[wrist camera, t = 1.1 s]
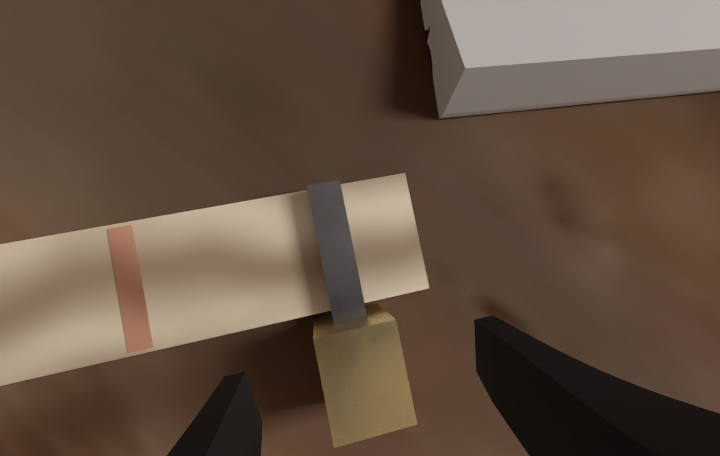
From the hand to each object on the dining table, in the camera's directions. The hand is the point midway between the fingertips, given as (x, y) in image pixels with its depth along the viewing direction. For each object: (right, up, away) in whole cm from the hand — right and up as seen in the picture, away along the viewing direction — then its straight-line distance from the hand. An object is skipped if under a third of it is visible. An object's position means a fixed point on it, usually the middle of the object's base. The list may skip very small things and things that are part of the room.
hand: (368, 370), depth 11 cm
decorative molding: (+21, +19, +15) cm, 32 cm away
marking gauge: (-1, +1, +10) cm, 11 cm away
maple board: (-11, +2, +9) cm, 14 cm away
